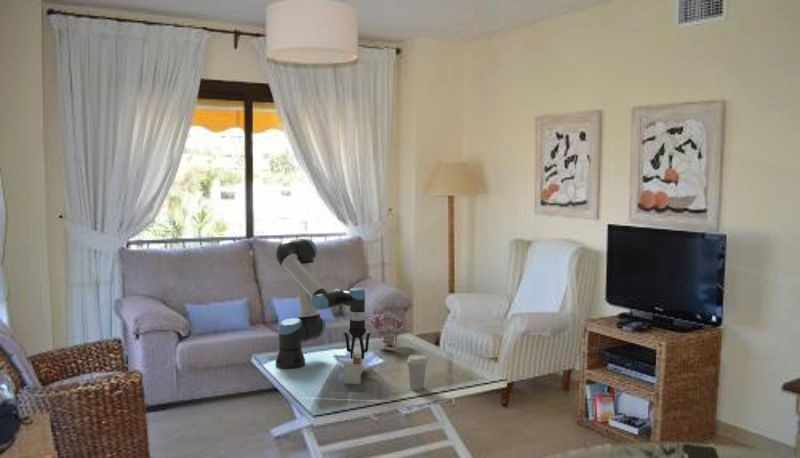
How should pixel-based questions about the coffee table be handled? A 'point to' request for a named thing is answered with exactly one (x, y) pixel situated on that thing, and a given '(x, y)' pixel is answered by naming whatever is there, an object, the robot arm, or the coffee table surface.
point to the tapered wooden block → (358, 360)
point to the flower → (387, 327)
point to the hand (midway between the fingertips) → (357, 365)
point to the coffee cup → (417, 371)
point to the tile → (352, 374)
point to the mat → (350, 387)
